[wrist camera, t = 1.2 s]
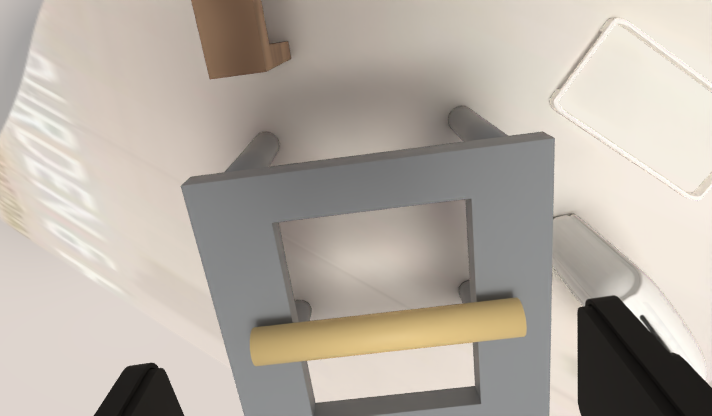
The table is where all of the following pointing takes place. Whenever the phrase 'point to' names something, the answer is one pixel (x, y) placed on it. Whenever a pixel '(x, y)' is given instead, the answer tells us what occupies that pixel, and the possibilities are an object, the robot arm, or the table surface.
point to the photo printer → (619, 285)
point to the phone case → (554, 102)
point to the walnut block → (236, 38)
